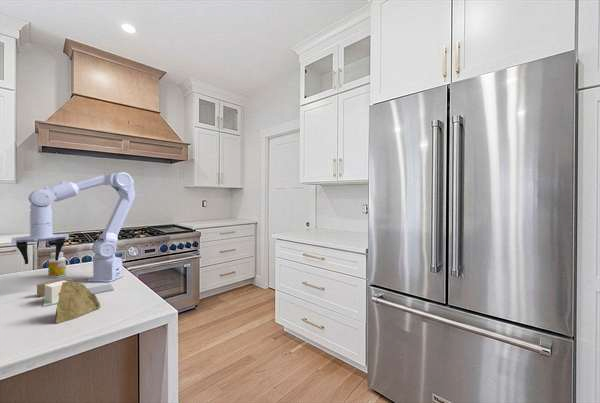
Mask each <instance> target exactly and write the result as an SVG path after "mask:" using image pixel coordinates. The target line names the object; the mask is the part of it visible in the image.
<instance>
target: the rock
mask: <svg viewBox="0 0 600 403" xmlns="http://www.w3.org/2000/svg"><path fill="white" fill-rule="evenodd" d="M99 308H101V303H100V301H99V299H98V297H97V296H96V294H93V293H91V292H90V291H89V290H88V289H87V287H86V285H84V284H81V283H79V282H77V281H73V280H72V281H70V282H63V283H62V287H61V290H60V295H59V300H58V304H56V310H55V315H54V316H55V317H54V323H55V325H58V324H60V323H63V322H66V321H69V320H73V319H76V318H78V317H81V316H83V315H85V314H88V313H90V312H92V311H95V310H98V309H99Z"/></svg>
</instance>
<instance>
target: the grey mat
mask: <svg viewBox="0 0 600 403" xmlns="http://www.w3.org/2000/svg"><path fill="white" fill-rule="evenodd" d="M86 288H87V287H86ZM87 289H88V290H89V291H90V292H91V293H93V294H95V295H96V294H101V293H106V292H112V291H114V288H113V286H112V284H111V283H110V284H105V285H97V286H92V287H89V288H87Z"/></svg>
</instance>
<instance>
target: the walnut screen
mask: <svg viewBox="0 0 600 403" xmlns="http://www.w3.org/2000/svg"><path fill="white" fill-rule="evenodd" d="M63 280H64V281H67V282H70V281H72V282H73V279H72V278H69V279H63ZM63 280H56V281H49V282H44V283H38V284H36V298H45V284H50V283H54V282H59V281H63Z"/></svg>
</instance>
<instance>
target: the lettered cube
mask: <svg viewBox="0 0 600 403" xmlns="http://www.w3.org/2000/svg"><path fill="white" fill-rule="evenodd" d="M64 280H65V279H63V281H61V280H58V281H59V282H55V281H53V282H54V283H50V284H45V296H44V299H45V300H46V301H48V302H51V303H54V302H58V300H59V295H60V290H61V287H62V283H63V282H67V281H64Z"/></svg>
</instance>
